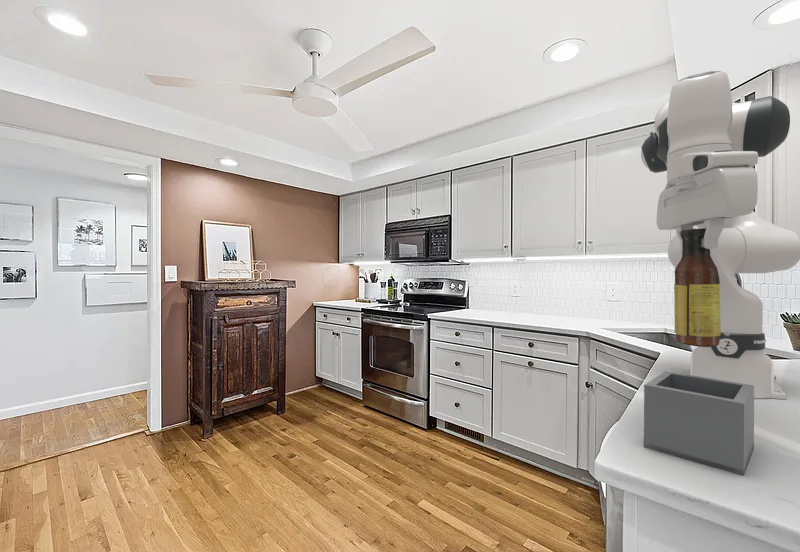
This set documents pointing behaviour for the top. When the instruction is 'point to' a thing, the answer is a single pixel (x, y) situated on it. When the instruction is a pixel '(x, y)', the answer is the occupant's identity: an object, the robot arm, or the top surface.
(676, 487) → the top surface
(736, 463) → the bin
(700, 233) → the sauce bottle
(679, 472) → the top surface
